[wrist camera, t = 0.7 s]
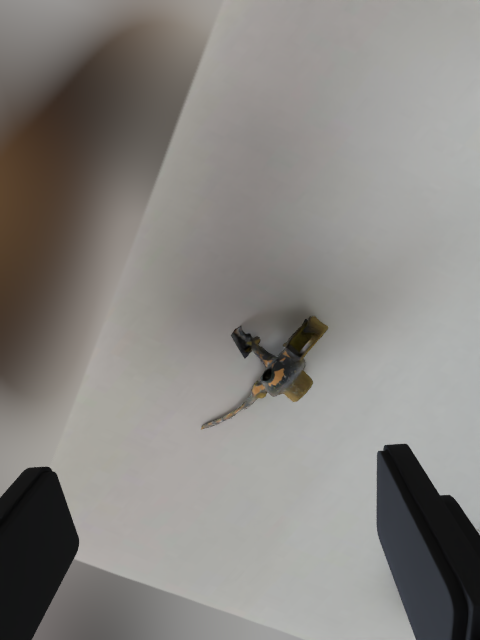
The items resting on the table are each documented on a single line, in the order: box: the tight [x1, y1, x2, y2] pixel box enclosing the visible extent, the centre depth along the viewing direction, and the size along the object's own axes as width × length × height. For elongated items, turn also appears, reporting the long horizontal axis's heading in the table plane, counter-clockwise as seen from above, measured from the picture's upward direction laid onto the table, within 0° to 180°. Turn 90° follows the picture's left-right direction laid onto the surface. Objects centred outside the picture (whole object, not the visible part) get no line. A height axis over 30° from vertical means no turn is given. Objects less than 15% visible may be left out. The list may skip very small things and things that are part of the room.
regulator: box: [201, 316, 328, 430], centre depth 28 cm, size 8×4×15 cm
